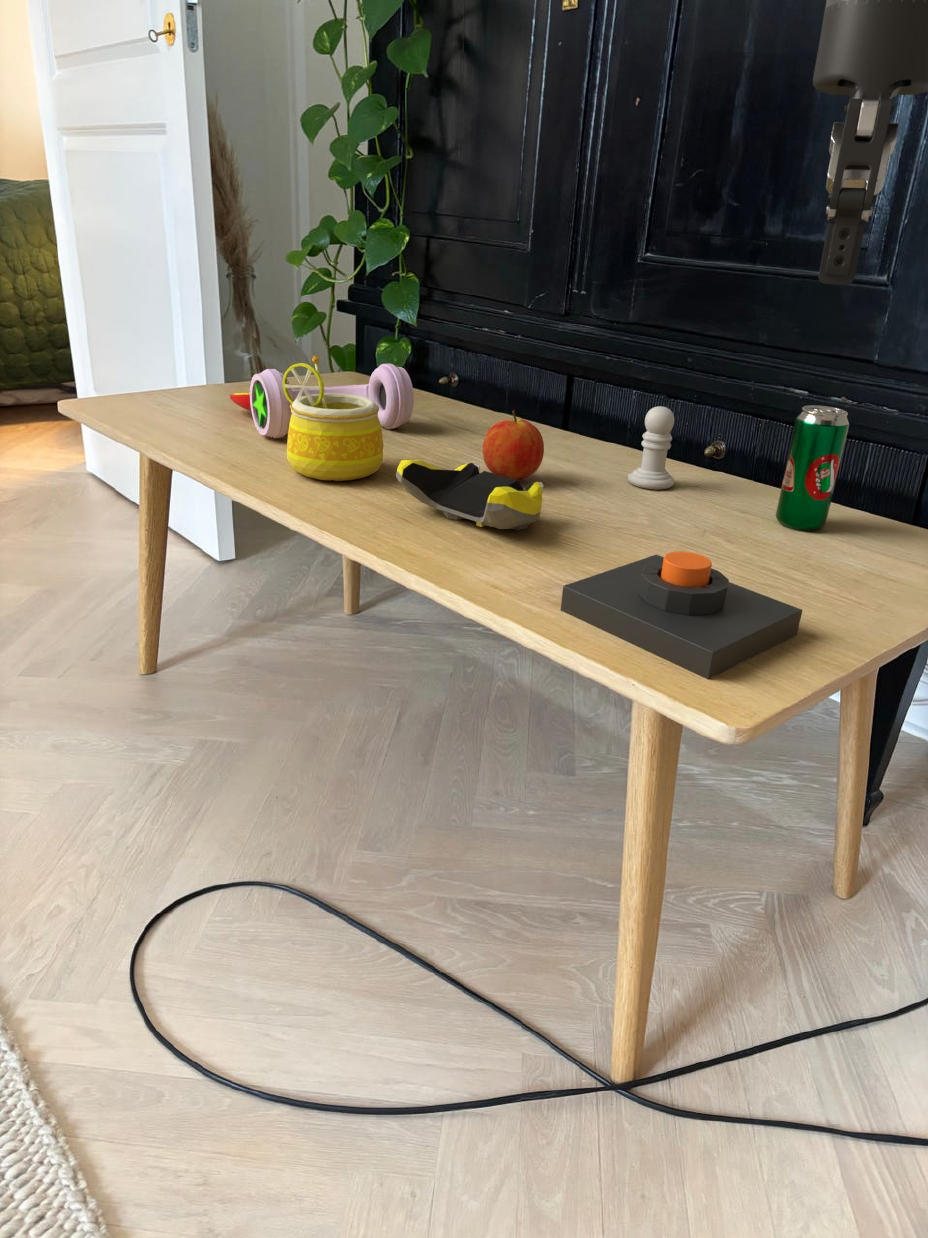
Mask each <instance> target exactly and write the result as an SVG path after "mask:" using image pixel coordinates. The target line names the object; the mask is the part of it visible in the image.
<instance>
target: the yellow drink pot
mask: <svg viewBox="0 0 928 1238" xmlns="http://www.w3.org/2000/svg"><path fill="white" fill-rule="evenodd" d="M311 361H312V363H313V365H314V366H315V368H314V367H313V366H311V365H309V364H307V363H305V362H304V363H303V362H300V363H295V364H293V365H291V366H289V367H288V368H287V370H286V371H284V373H283V375H284V378H283V390H284V393H285V396H286V398H287V399H288V400H289V401H290V402H291V405H290V409H291V412H292V415H291V419H290V423H289V431H288V434H287V442H286V443H287V444H286V459H287V461H288V464H289V466H290V468H292V469H293V470H294V471H295V472H296V473H298V474H300V475H302V476H305V477H307V478H311V479H315V480H319V481H332V480H333V481H334V482H335V481H336V482H342V481H353V480H358V479H363V478H366V477H369V476H370V475H373V474H374V473H376V472H378V470H379V469H380V468H381V465H382V463H383V461H384V460H383V459H384V439H383V430H382V429H383V428H382V426H381V424H380V421H379V418H378V412H379V406H378V405H376V403H375V402H373V401H372V400H370V399H368V398H366V397H362V396H357V395H350V394H339V393H324V387H325V385H324V381H323V378H322V376H321V373H320V367H319V363H320V359H319V357H318V356H317V355H313V356H312V359H311ZM297 367H303V368H306V369H307V371H306V374H305V376H304V380H303V381H302V379H301V376H300V374H299V371H298V370H297ZM290 372H291V373H292V375H293V376H294V378H295V379H296V380H297V382H298V383H299V384H293V383H289V384H288V383H287V380H288V377H289V374H290ZM312 373H313V374H314V376H315V378H316V379H317V382H318V385H307V382H308V380H309V379H310V377H311V374H312ZM287 388H291V389H294V388H301V389H302V391H301V390H300V392H299V394H298V396H297V397H296V399H295V401H294V400H293V399H292V398H291V396H290V395H289V392H288V389H287ZM304 388H305V389H306V388H311V389H317V390H320V394H311V395H310V394H309V393H308V391H307V390H306V391H307V393H308V395H307V393H306V392H305V390H304ZM303 390H304V392H305V394H306V396H303V397H301V395H302V392H303Z"/></svg>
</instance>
